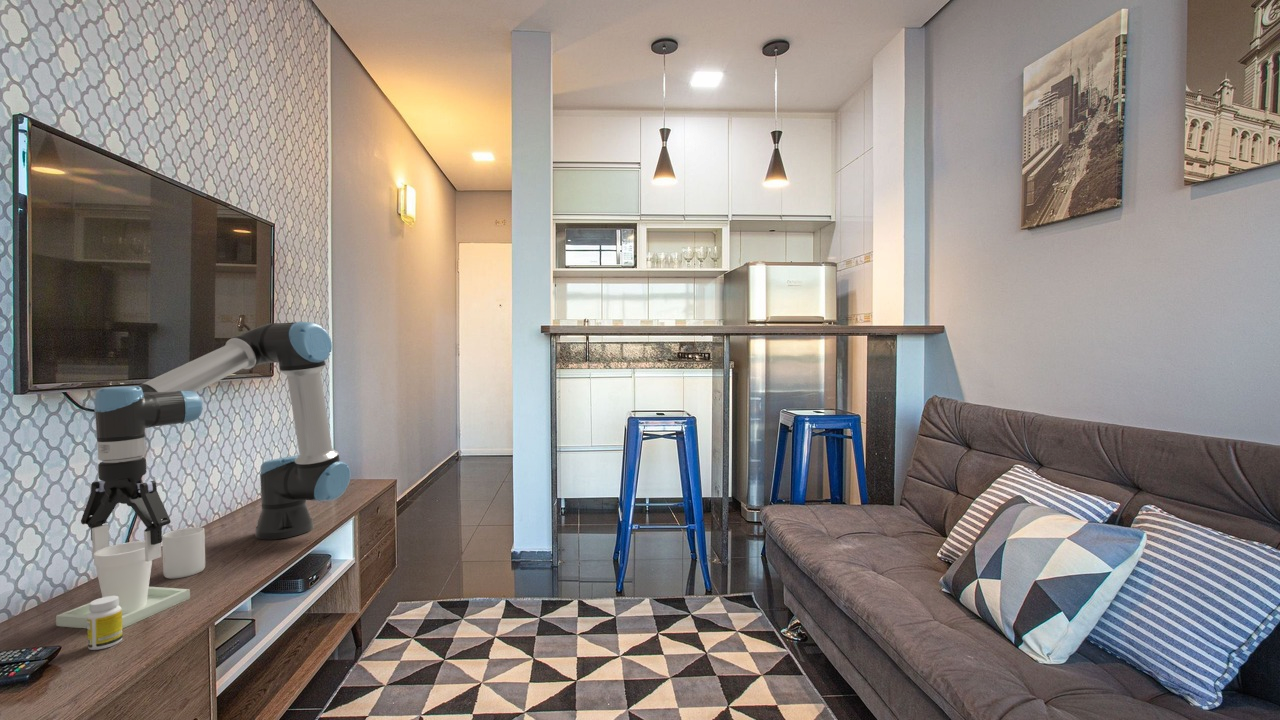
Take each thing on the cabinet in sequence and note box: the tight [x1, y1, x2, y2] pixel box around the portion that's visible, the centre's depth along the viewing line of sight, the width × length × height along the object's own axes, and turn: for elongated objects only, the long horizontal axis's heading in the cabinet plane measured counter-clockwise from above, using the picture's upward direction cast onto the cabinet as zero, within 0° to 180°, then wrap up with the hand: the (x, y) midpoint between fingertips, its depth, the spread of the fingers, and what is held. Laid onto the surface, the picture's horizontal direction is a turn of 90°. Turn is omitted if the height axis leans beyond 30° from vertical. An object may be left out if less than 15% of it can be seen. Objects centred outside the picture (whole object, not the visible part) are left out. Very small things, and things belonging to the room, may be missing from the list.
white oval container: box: [161, 526, 206, 580], centre depth 143 cm, size 12×8×10 cm
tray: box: [55, 586, 191, 630], centre depth 120 cm, size 15×15×2 cm
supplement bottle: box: [87, 596, 124, 651], centre depth 106 cm, size 5×5×8 cm
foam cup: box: [93, 540, 153, 614], centre depth 120 cm, size 10×9×13 cm
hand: (127, 557), depth 120 cm, fingers open, 13 cm apart
